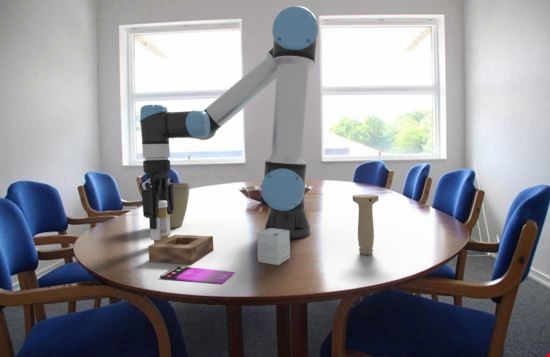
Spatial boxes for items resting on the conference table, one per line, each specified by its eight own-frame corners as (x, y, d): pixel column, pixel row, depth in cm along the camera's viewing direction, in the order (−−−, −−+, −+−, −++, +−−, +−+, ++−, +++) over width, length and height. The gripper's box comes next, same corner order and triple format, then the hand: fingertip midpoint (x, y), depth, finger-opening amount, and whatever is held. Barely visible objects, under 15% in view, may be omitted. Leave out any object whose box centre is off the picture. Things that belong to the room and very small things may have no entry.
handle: (382, 255, 83) (381, 196, 82) (359, 257, 82) (358, 197, 81) (372, 249, 88) (371, 193, 87) (350, 252, 87) (349, 195, 86)
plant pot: (200, 224, 127) (198, 183, 126) (169, 232, 115) (166, 187, 114) (173, 221, 135) (171, 182, 134) (142, 228, 123) (139, 186, 122)
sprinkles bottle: (169, 242, 102) (166, 199, 101) (169, 246, 98) (167, 201, 97) (153, 244, 100) (150, 200, 99) (153, 248, 96) (150, 202, 95)
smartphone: (177, 269, 79) (177, 265, 79) (236, 273, 75) (235, 269, 75) (159, 280, 72) (159, 276, 72) (222, 286, 68) (221, 282, 68)
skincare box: (270, 255, 86) (269, 227, 86) (290, 258, 83) (290, 229, 83) (257, 262, 81) (256, 232, 81) (278, 265, 78) (277, 235, 78)
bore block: (213, 250, 92) (212, 236, 92) (191, 264, 81) (190, 248, 80) (175, 248, 95) (174, 234, 95) (149, 261, 84) (148, 246, 84)
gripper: (162, 158, 106) (166, 230, 108) (125, 160, 90) (130, 244, 91) (183, 158, 104) (187, 231, 106) (148, 159, 88) (154, 246, 89)
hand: (161, 237), depth 99 cm, fingers closed on sprinkles bottle, 4 cm apart
